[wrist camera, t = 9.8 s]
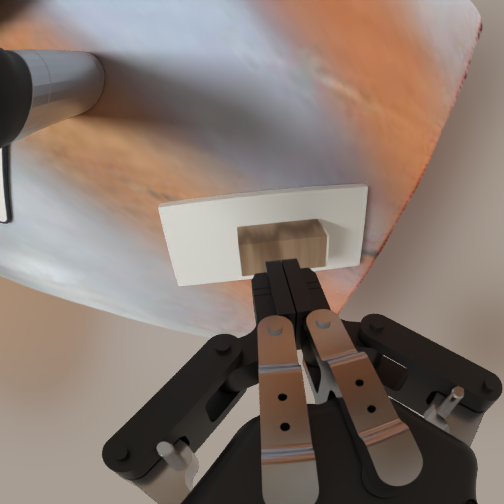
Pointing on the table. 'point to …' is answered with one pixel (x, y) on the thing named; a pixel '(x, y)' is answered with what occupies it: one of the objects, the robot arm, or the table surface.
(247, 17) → the table surface
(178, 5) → the table surface
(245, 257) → the walnut block
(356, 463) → the robot arm
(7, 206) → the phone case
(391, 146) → the table surface
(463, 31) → the table surface
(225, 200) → the white board
